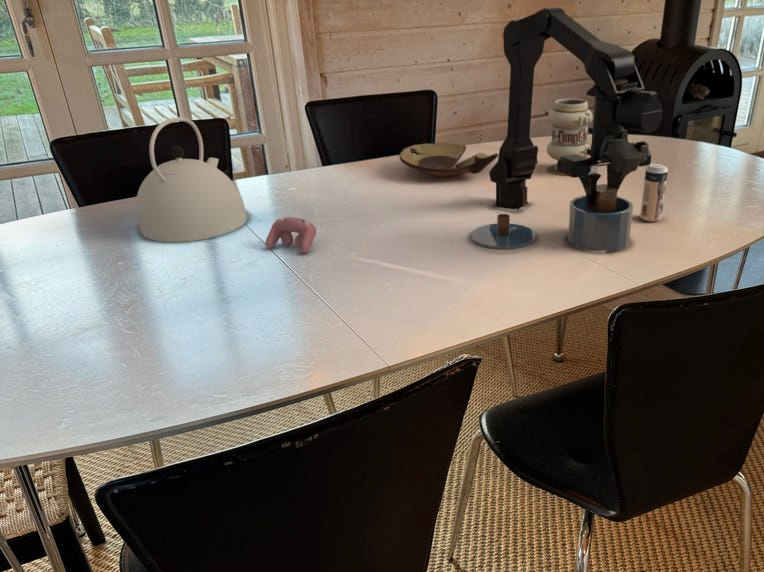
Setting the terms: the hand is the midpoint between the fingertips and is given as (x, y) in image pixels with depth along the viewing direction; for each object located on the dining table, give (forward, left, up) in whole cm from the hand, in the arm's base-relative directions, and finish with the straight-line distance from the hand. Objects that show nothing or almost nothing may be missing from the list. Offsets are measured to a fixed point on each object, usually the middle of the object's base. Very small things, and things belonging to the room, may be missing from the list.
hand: (601, 203), depth 134 cm
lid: (-18, -8, -7) cm, 21 cm away
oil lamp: (-53, +28, -8) cm, 60 cm away
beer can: (+6, +18, -8) cm, 21 cm away
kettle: (-85, -29, -8) cm, 90 cm away
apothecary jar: (-25, +46, -8) cm, 53 cm away
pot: (0, 0, -8) cm, 8 cm away
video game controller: (-55, -31, -8) cm, 64 cm away
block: (0, 0, -1) cm, 1 cm away
